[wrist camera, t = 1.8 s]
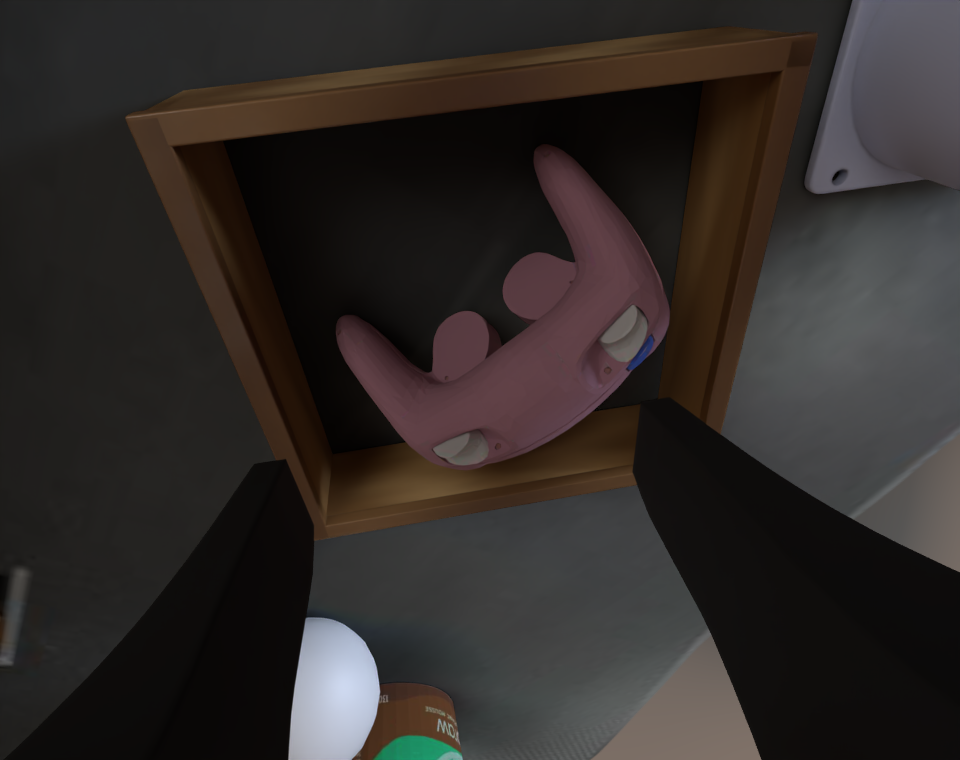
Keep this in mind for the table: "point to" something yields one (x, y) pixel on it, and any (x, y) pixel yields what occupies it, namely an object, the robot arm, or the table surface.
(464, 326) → the video game controller
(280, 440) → the wooden frame
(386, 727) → the brown and beige cupcake
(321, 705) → the seamed sphere
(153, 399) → the table surface
